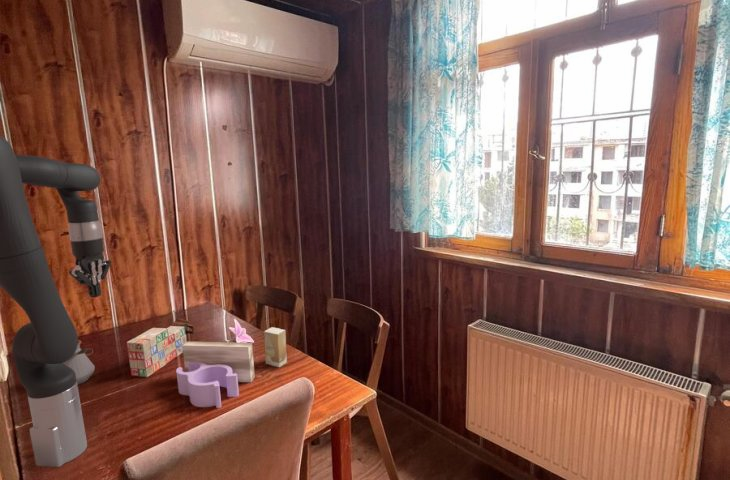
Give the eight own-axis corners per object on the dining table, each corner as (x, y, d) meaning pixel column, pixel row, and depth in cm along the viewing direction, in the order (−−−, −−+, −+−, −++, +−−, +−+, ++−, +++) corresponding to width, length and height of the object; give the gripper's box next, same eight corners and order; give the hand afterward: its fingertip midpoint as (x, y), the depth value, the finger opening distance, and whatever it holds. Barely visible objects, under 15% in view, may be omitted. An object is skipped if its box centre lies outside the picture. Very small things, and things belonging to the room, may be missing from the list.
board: (251, 382, 127) (248, 347, 125) (186, 380, 130) (182, 345, 128) (254, 377, 130) (252, 342, 128) (191, 375, 133) (187, 341, 131)
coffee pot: (47, 383, 130) (39, 340, 128) (87, 368, 140) (81, 328, 137) (74, 403, 118) (66, 356, 116) (116, 386, 128) (109, 341, 125)
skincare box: (265, 364, 139) (262, 331, 137) (273, 358, 143) (271, 326, 141) (279, 367, 136) (277, 334, 134) (288, 362, 140) (285, 329, 138)
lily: (233, 359, 146) (244, 336, 146) (212, 341, 151) (223, 319, 150) (253, 355, 157) (264, 333, 157) (233, 338, 162) (244, 318, 161)
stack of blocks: (173, 348, 154) (170, 318, 152) (187, 349, 153) (184, 318, 151) (130, 376, 134) (126, 341, 132) (147, 377, 133) (142, 342, 130)
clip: (167, 395, 122) (165, 373, 121) (202, 376, 132) (200, 356, 131) (212, 413, 112) (209, 390, 111) (245, 391, 123) (243, 370, 121)
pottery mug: (164, 336, 167) (171, 317, 169) (187, 341, 171) (194, 322, 174) (169, 338, 157) (176, 318, 159) (193, 343, 162) (200, 323, 164)
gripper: (79, 242, 105) (89, 304, 109) (115, 233, 118) (124, 289, 121) (53, 242, 106) (64, 304, 110) (92, 233, 119) (101, 289, 122)
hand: (95, 296), depth 116 cm, fingers closed
